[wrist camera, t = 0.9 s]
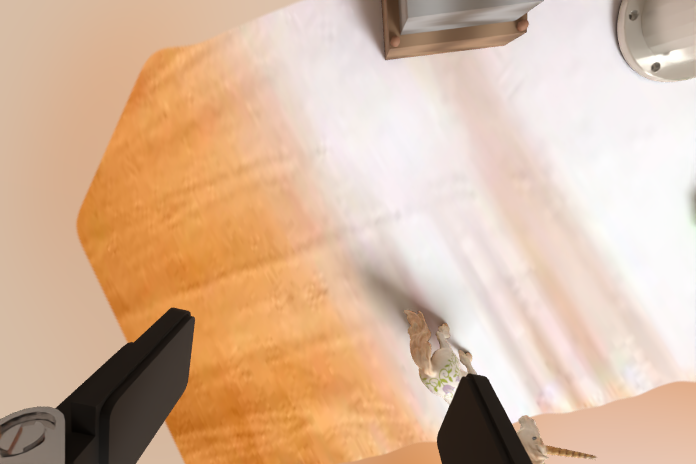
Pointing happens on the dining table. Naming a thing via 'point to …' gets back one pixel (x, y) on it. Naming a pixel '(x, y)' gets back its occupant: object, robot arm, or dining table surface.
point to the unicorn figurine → (446, 374)
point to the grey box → (451, 25)
